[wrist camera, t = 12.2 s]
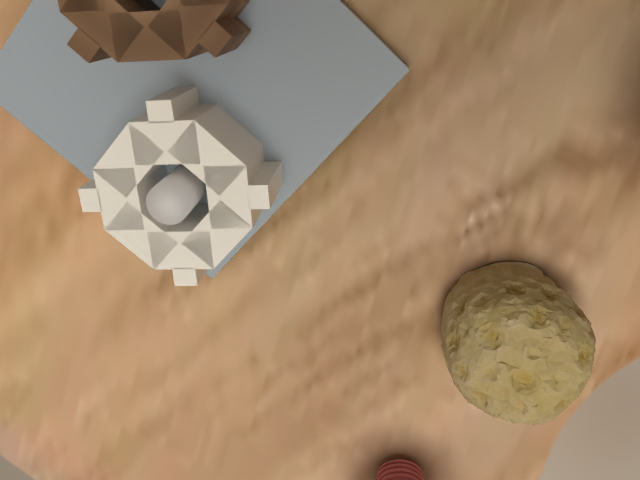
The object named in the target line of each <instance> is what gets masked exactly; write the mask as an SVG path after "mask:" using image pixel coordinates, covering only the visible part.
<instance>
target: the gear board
mask: <svg viewBox="0 0 640 480" xmlns="http://www.w3.org/2000/svg"><path fill="white" fill-rule="evenodd" d="M152 1H153V2H154V3H155V4H156V5H157V6H158V7H159V8H162V7H163V5H164V4H165V3H166V1H167V0H152ZM237 17H238V18H239V19H240V20H241V21H242V22H243V23H244V24H245V25H247V26H248V27H249V28H250V29H251V30H252V31H251V32H250V33H249V34H248V36H247V37H246V38H245V39H244V41H243V42H242V43H241V44H240V45H239V47H238V48H237V49H235V50H233V51H231V52H228V53H226V54H223V55H221V56H219V57H216V58H215V57H213V56H212V55H211V54H210V53H209V52H206V53H203V54H200V55H197V56H194V57H192V58H189V59H186V60H163V61H139V62H119V63H117V62H116V61H115V60H114V59H113V58H112V57H111V58H108V59H104V60H100V61H96V62H92V63H88V62H86V61H85V60H84V59H83V58H82V57H81V56H80V55H78V54H77V53H76V52H75V51H74V50H73V49H71V48H70V47H69V46H68V45H67V43H68V42H69V40H70V39H71V37H72V36H73V34H74V33H75V31H76V30H77V28H78V27H76V26H75V25H74V24H73V23H72V22H71V21H70V20H68V19H67V18H66V17H65V16H64V15H63V14H62V13H60V10H59V5H58V0H32V2H31V3H30V5H29V7H28V8H27V10H26V11H25V13H24V15H23V16H22V18H21V19H20V21H19V22H18V24H17V26H16V27H15V29H14V30H13V32H12V34H11V35H10V37H9V38H8V40H7V41H6V43H5V45H4V46H3V48H2V49H1V51H0V106H1V107H3V108H4V109H5V110H6V111H7V112H9V113H10V114H11V115H12V116H14V117H15V118H16V119H17V120H18V121H20V122H21V123H22V124H23V125H25V126H26V127H27V128H28V129H29V130H31V131H32V132H33V133H34V134H36V135H37V136H38V137H39V138H40V139H42V140H43V141H44V142H45V143H46V144H48V145H49V146H50V147H51V148H53V149H54V150H55V151H56V152H57V153H59V154H60V155H61V156H62V157H64V158H65V159H66V160H67V161H68V162H70V163H71V164H72V165H73V166H75V167H76V168H77V169H78V170H79V171H81V172H82V173H83V174H84V175H86V176H87V177H88V178H89V179H90V180H92V179H94V175H93V170H92V169H93V168H94V167H95V165H96V164H97V163H98V162H99V160H100V159H101V158H102V156H103V155H104V154H105V152H106V151H107V150H108V148H109V147H110V146H111V145H112V143H113V142H114V141H115V139H116V138H117V137H118V135H119V134H120V133H121V132H122V130H123V129H124V128H125V126H126V125H127V124H128V122H130V121H131V120H133V119H135V118H137V117H139V116H141V115H143V114H145V113H147V108H146V102H145V101H146V100H148V99H150V98H153V97H155V96H157V95H159V94H161V93H163V92H165V91H167V90H169V89H172V88H174V87H183V86H198V94H199V102H200V104H217V103H218V104H219V105H220V106H221V107H222V108H223V109H224V110H225V111H226V112H228V113H229V114H230V115H231V116H232V117H233V118H234V119H235V120H237V121H238V122H239V123H240V124H241V125H242V126H243V127H244V128H246V129H247V130H248V131H249V132H250V133H251V134H252V135H253V136H254V137H256V138H257V139H258V140H259V141H260V142H261V143H262V144H263V151H264V162H267V161H282V172H283V184H282V186H281V188H280V190H279V192H278V194H277V196H276V198H275V200H274V202H273V204H272V206H271V208H270V209H263V210H262V212H261V213H260V215H259V217H258V219H257V221H256V223H255V225H254V226H253V228H252V229H251V230H250V231H249V232H248V233H247V234H246V235H245V236H244V237H243V238H242V239H241V241H240V242H239V243H238V244H237V245H236V246H235V247H234V248H233V249H232V250H231V251H230V252H229V253H228V254H227V255H226V256H225V258H224V259H223V260H222V261H221V262H220V263H219V264H218V265H217V266H216V267H215V268H214V269H208V270H207V271H206V273H205V274H207V275H208V276H209V277H210V278H211V279H212V278H213V277H214V276H215V275H216V274H217V273H218V272H219V271H220V270H221V268H222V267H223V266H224V265H225V264H226V263H227V262H228V261H229V260H230V259H231V258H232V257H233V256H234V255H235V254H236V253H237V252H238V251H239V249H240V248H241V247H242V246H243V245H244V244H245V243H246V242H247V241H248V240H249V239H250V238H251V237H252V236H253V235H254V234H255V233H256V232H257V231H258V229H259V228H260V227H261V226H262V225H263V224H264V223H265V222H266V221H267V220H268V219H269V218H270V217H271V216H272V215H273V214H274V213H275V212H276V211H277V209H278V208H279V207H280V206H281V205H282V204H283V203H284V202H285V201H286V200H287V199H288V198H289V197H290V196H291V195H292V194H293V193H294V192H295V191H296V189H297V188H298V187H299V186H300V185H301V184H302V183H303V182H304V181H305V180H306V179H307V178H308V177H309V176H310V175H311V174H312V173H313V172H314V171H315V169H316V168H317V167H318V166H319V165H320V164H321V163H322V162H323V161H324V160H325V159H326V158H327V157H328V156H329V155H330V154H331V153H332V152H333V151H334V149H335V148H336V147H337V146H338V145H339V144H340V143H341V142H342V141H343V140H344V139H345V138H346V137H347V136H348V135H349V134H350V133H351V132H352V130H353V129H354V128H355V127H356V126H357V125H358V124H359V123H360V122H361V121H362V120H363V119H364V118H365V117H366V116H367V115H368V114H369V113H370V112H371V110H372V109H373V108H374V107H375V106H376V105H377V104H378V103H379V102H380V101H381V100H382V99H383V98H384V97H385V96H386V95H387V94H388V93H389V92H390V90H391V89H392V88H393V87H394V86H395V85H396V84H397V83H398V82H399V81H400V80H401V79H402V78H403V77H404V76H405V75H406V74H407V73H408V72H409V70H410V69H409V67H408V66H407V65H406V64H405V63H404V62H403V61H402V60H401V59H400V58H399V57H398V56H397V55H396V54H395V53H394V52H393V51H392V50H391V49H390V48H389V47H388V46H387V45H386V44H385V43H384V42H383V41H382V40H381V39H380V38H379V37H378V36H377V35H376V34H375V33H374V32H373V31H372V30H371V29H370V28H369V27H368V26H367V25H366V24H365V23H364V22H363V21H362V20H361V19H360V18H359V17H358V16H357V15H356V14H355V13H354V12H353V11H352V10H351V9H350V8H349V7H348V6H347V5H346V4H345V3H344V2H343V1H342V0H249V2H248V4H247V5H246V6H245V7H244V9H243V10H242V11H241V13H240V14H239V15H238V16H237ZM166 167H167V173H168V175H167V176H165V177H164V178H163V179H162V180H161V181H160V182H158V183H157V184H156V185H155V186H154V187H153V188H152V189H151V190H150V191H149V192H148V194H147V197H146V206H147V210H148V212H149V213H150V215H151V216H152V217H153V218H154V219H155V220H156V221H158V222H160V223H162V224H165V225H175V224H178V223H180V222H181V221H183V220H184V219H185V217H186V216H187V215H188V214H189V213H190V212H191V210H192V209H193V208H194V207H195V206H196V205H197V203H208V199H207V191H206V184H205V183H204V182H203V181H201V180H200V179H199V178H198V177H197V176H196V175H194V174H193V173H192V172H191V171H190V170H189V169H187V168H186V167H185V166H184V165H183V164H168V165H166Z"/></svg>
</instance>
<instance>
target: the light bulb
mask: <svg viewBox="0 0 640 480" xmlns="http://www.w3.org/2000/svg"><path fill="white" fill-rule="evenodd" d="M376 480H424V478H423V472H422V470H421V468H420V467H419V466H418V465H416V464H415V463H413V462H411V461H408V460H403V459H395V460H391V461H388V462H386V463H384V464H383V465H381V467H380V468H379V469H378V472H377V476H376Z"/></svg>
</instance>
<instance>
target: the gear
mask: <svg viewBox="0 0 640 480" xmlns="http://www.w3.org/2000/svg"><path fill="white" fill-rule="evenodd" d="M145 102H146V108H147V113H145V114H143V115H141V116H139V117H137V118H135V119H133V120H131V121H130V122H128V124H127V125H126V126H125V128H124V129H123V130H122V132H121V133H120V134H119V135H118V137H117V138H116V139H115V141H114V142H113V143H112V145H111V146H110V147H109V148H108V150H107V151H106V152H105V154H104V155H103V156H102V158H101V159H100V160H99V162H98V163H97V164H96V165H95V167H94V168H93V169H92V170H93V175H94V179H92V180H91V181H89V182H88V183H86V184H85V185H83V186H82V187H80V188H78V192H79V196H80V201H81V206H82V210H83V212H101V214H102V219H103V224H104V230H106V231H107V232H108V233H109V234H111V235H112V236H113V237H114V238H115V239H117V240H118V241H119V242H120V243H122V244H123V245H124V246H125V247H127V248H128V249H129V250H130V251H132V252H133V253H134V254H135V255H137V256H138V257H139V258H140V259H142V260H143V261H144V262H145V263H147V264H148V265H149V266H150V267H152V268H153V269H154V270H155V269H172V271H173V278H174V284H175V286H198V284H199V283H200V281H201V279H202V278H203V276H204V274H205V273H206V271H207V270H208V269H214V268H215V267H216V266H217V265H218V264H219V263H220V262H221V261H222V260H223V259H224V258H225V256H226V255H227V254H228V253H229V252H230V251H231V250H232V249H233V248H234V247H235V246H236V245H237V244H238V243H239V242H240V241H241V239H242V238H243V237H244V236H245V235H246V234H247V233H248V232H249V231H250V230H251V229H252V228H253V226H254V225H255V223H256V221H257V219H258V217H259V215H260V213H261V212H262V210H263V209H270V208H271V206H272V204H273V202H274V200H275V198H276V196H277V194H278V192H279V190H280V188H281V186H282V184H283V172H282V161H267V162H264V151H263V144H262V143H261V142H260V141H259V140H258V139H257V138H256V137H254V136H253V135H252V134H251V133H250V132H249V131H248V130H247V129H246V128H244V127H243V126H242V125H241V124H240V123H239V122H238V121H237V120H235V119H234V118H233V117H232V116H231V115H230V114H229V113H228V112H226V111H225V110H224V109H223V108H222V107H221V106H220V105H219V104H218V103H217V104H200V102H199V94H198V86H183V87H174V88H172V89H169V90H167V91H165V92H163V93H161V94H159V95H157V96H155V97H153V98H150V99H148V100H146V101H145ZM168 164H183V165H184V166H185V167H186V168H187V169H189V170H190V171H191V172H192V173H193V174H194V175H196V176H197V177H198V178H199V179H200V180H201V181H203V182H204V183H205V184H206V191H207V199H208V203H197V205H196V206H195V207H194V208H193V209H192V210H191V212H190V213H189V214H188V215H187V216H186V217H185V219H184V220H183V221H181V222H180V223H178V224H175V225H165V224H162V223H160V222H158V221H156V220H155V219H154V218H153V217H152V216H151V215H150V213H149V212H148V210H147V206H146V197H147V194H148V192H149V191H150V190H151V189H152V188H153V187H154V186H155V185H156V184H157V183H158V182H160V181H161V180H162V179H163V178H164V177H165V176H167V175H168V173H167V167H166V165H168Z"/></svg>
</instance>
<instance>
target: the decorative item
mask: <svg viewBox="0 0 640 480" xmlns="http://www.w3.org/2000/svg"><path fill="white" fill-rule="evenodd" d="M441 337H442V348H443V353H444V356H445V359H446V362H447V367H448V370H449V372H450V374H451V377H452V379H453V382H454V384H455V385H456V387H457V388H458V389H459V391H460V392H461V393H462V395H463V396H464V398H465V399H466V400H467V401H468V402H469V403H471V404H473V405H474V406H476V407H477V408H478V409H480V410H483V411H484V412H485V413H488V414H489V415H491V416H492V417H496V418H501V419H503V420H506V421H509V422H512V423H520V424H526V425H533V424H540V425H542V424H545V423H547V422H549V421H550V420H553V419H555V418H556V417H557V416H558V415H559V414H560V413H561V412H562V411H563V410H564V409H565V408H566V407H567V406H568V405H569V404H571V403H572V401H574V400H575V399H576V398H578V397H579V395H580V393H581V392H582V390H583V389H584V387H585V385H586V384H587V381H588V379H589V377H590V375H591V373H592V365H593V360H594V353H595V351H596V350H595V342H596V340H595V336H594V333H593V330H592V328H591V323H590V321H589V320H588V319H587V318H586V316H585V315H584V313H583V311H582V310H581V309H579V308H578V306H577V305H576V304H575V302H574V301H573V300H572V298H571V297H570V296H569V295H568V294H567V293H566V292H565V290H564V289H561V288H559V287H557V286H556V284H555V283H554V282H553V280H552V279H551V278H550V277H547V276H544V275H543V273H542V270H540V269H539V268H537V267H535V266H534V265H531V264H529V263H523V262H498V263H494V264H490V265H487V266H484V267H481V268H478V269H475V270H473V271H470V272H467V273H465V274H464V275H462V276H461V277H460V279H459V280H458V282H457V284H456V285H455V286H453V287H452V289H451V291H450V292H448V294H447V297H446V300H445V303H444V307H443V315H442V323H441Z"/></svg>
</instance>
